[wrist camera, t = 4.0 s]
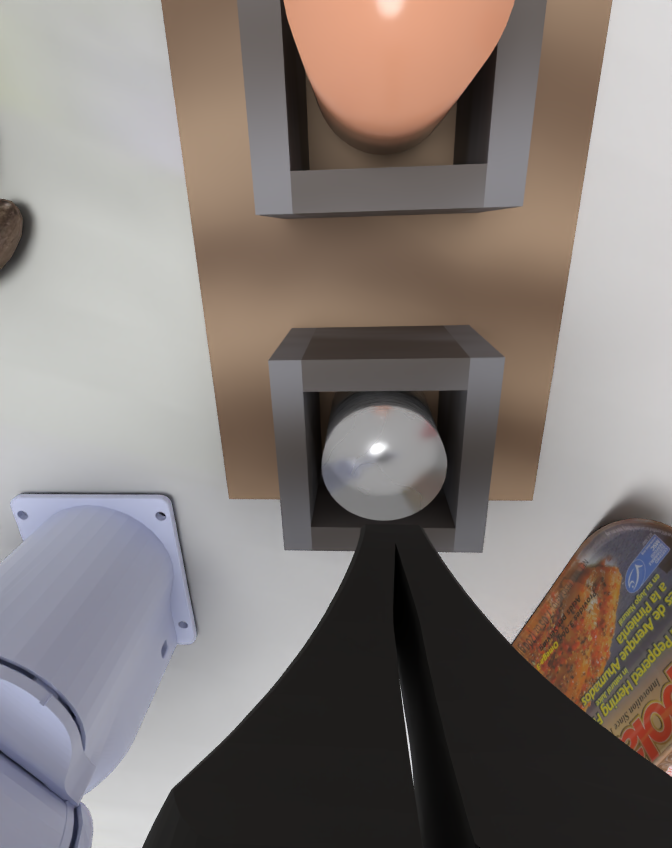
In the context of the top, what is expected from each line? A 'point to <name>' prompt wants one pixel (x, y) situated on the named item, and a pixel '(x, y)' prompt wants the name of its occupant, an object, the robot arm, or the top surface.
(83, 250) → the top surface
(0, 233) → the brown curved piece
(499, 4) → the terracotta plunger
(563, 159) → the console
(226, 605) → the top surface
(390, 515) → the steel plunger
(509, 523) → the top surface
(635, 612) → the tin
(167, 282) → the top surface
